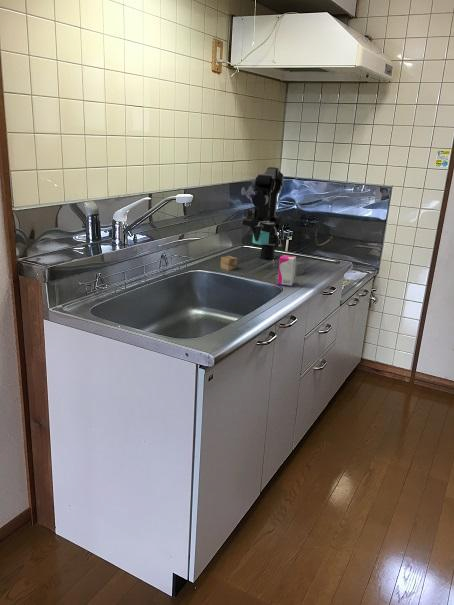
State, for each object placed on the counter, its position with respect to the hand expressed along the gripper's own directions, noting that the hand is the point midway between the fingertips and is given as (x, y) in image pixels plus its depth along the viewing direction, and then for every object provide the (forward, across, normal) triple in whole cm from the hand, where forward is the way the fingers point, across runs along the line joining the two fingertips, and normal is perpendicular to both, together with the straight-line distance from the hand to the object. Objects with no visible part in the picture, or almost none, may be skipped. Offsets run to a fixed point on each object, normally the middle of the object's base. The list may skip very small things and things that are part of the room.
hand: (260, 240), depth 218 cm
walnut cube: (+13, +11, -8) cm, 19 cm away
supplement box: (+13, +8, +23) cm, 28 cm away
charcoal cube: (+13, -9, +14) cm, 21 cm away
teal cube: (+1, 0, 0) cm, 1 cm away
